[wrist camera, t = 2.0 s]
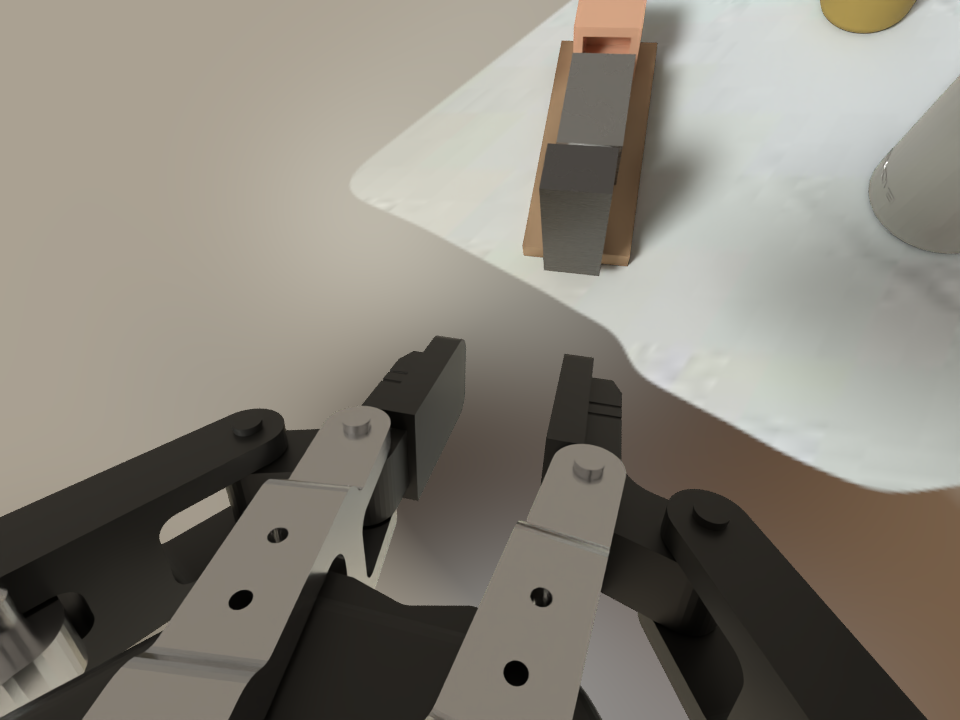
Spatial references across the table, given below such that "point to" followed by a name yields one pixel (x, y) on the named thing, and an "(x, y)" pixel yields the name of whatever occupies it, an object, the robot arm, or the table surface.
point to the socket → (609, 27)
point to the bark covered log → (865, 13)
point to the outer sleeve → (597, 101)
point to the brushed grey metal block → (576, 206)
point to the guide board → (630, 162)
